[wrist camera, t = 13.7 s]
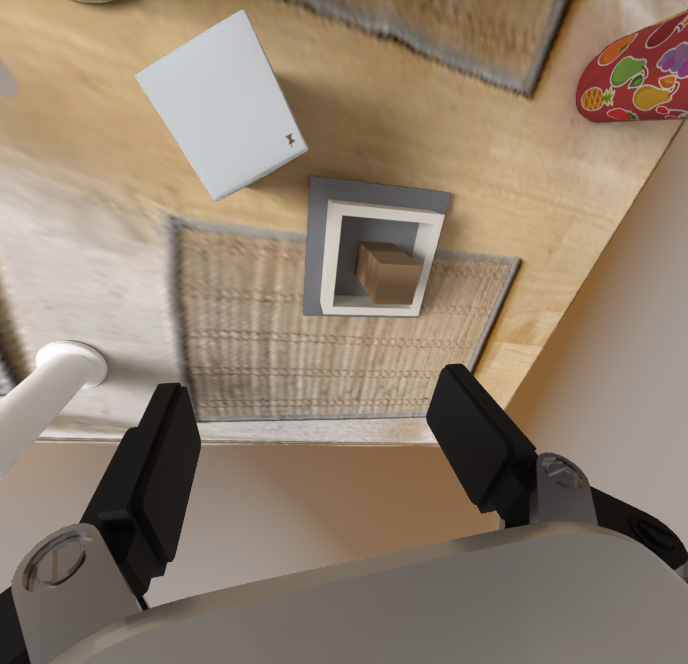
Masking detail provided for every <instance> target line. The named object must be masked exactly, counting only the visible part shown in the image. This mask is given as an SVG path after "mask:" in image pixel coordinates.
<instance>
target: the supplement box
mask: <svg viewBox="0 0 688 664" xmlns="http://www.w3.org/2000/svg"><path fill="white" fill-rule="evenodd" d="M135 78H136V80H137V81H138V82H139V84H140V85H141V87H142V88H143V90H144V91H145V93H146V95H147V96H148V98H149V99H150V101H151V102H152V104H153V105H154V107H155V108H156V110H157V111H158V113H159V115H160V116H161V118H162V119H163V121H164V122H165V124H166V126H167V127H168V129H169V130H170V132H171V134H172V135H173V137H174V138H175V140H176V141H177V143H178V145H179V146H180V148H181V149H182V151H183V153H184V154H185V156H186V157H187V159H188V160H189V162H190V164H191V165H192V167H193V168H194V170H195V172H196V173H197V175H198V176H199V178H200V179H201V181H202V183H203V184H204V186H205V187H206V189H207V191H208V192H209V194H210V195H211V197H212V199H213V200H215V201H218V200H221V199H223V198H225V197H227V196H229V195H231V194H233V193H235V192H237V191H239V190H240V189H242V188H244V187H246V186H248V185H250V184H252V183H254V182H255V181H257V180H259V179H261V178H263V177H265V176H266V175H268V174H270V173H272V172H273V171H275V170H277V169H278V168H280V167H282V166H283V165H285V164H287V163H288V162H290V161H292V160H293V159H295V158H297V157H298V156H300V155H302V154H303V153H305V152H307V151H308V150H309V148H308V145H307V143H306V141H305V139H304V136H303V134H302V132H301V130H300V127H299V125H298V123H297V121H296V119H295V116H294V114H293V112H292V110H291V108H290V106H289V103H288V101H287V99H286V97H285V95H284V92H283V90H282V88H281V86H280V84H279V82H278V80H277V77H276V75H275V73H274V71H273V69H272V67H271V65H270V62H269V60H268V58H267V56H266V54H265V52H264V50H263V48H262V46H261V44H260V41H259V39H258V37H257V35H256V33H255V31H254V29H253V27H252V25H251V22H250V20H249V18H248V16H247V14H246V12H245V10H244V9H242V10H240V11H238V12H236V13H235V14H233V15H231V16H229V17H228V18H226V19H224V20H223V21H221V22H219V23H217V24H216V25H214V26H213V27H211V28H209V29H208V30H206V31H205V32H203V33H201V34H200V35H198V36H196V37H195V38H193V39H191V40H190V41H188V42H187V43H185V44H183V45H182V46H180V47H178V48H177V49H175V50H174V51H172V52H170V53H169V54H167V55H165V56H164V57H162V58H161V59H159V60H157V61H156V62H154V63H153V64H151V65H150V66H148V67H146V68H145V69H143V70H142V71H140V72H139V73H137V74H135Z"/></svg>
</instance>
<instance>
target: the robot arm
mask: <svg viewBox="0 0 688 664" xmlns="http://www.w3.org/2000/svg"><path fill="white" fill-rule="evenodd" d="M76 1H80V2H83V3H104V2H109V1H113V0H76ZM426 419H427V423H428V425H429V427H430V429H431V431H432V432H433V434H434V436H435V438H436V440H437V441H438V443H439V445H440V447H441V448H442V450H443V452H444V454H445V455H446V457H447V459H448V461H449V463H450V465H451V466H452V468H453V470H454V472H455V473H456V475H457V477H458V479H459V481H460V483H461V484H462V486H463V488H464V490H465V492H466V493H467V495H468V497H469V499H470V500H471V502H472V503H473V504H475V505H477V507H478V508H479V510H480V512H481V513H487V512H492V511H495V510H496V511H497V512H498V514H499V516H500V524H499V530H497V531H492V532H487V533H482V534H477V535H473V536H467V537H463V538H458V539H453V540H448V541H443V542H439V543H433V544H429V545H424V546H420V547H415V548H410V549H405V550H400V551H396V552H391V553H386V554H381V555H376V556H372V557H367V558H362V559H358V560H353V561H349V562H343V563H339V564H334V565H329V566H325V567H320V568H316V569H311V570H306V571H302V572H297V573H293V574H288V575H283V576H279V577H274V578H270V579H265V580H260V581H256V582H251V583H247V584H243V585H239V586H234V587H230V588H226V589H222V590H217V591H213V592H209V593H204V594H201V595H196V596H192V597H187V598H184V599H181V600H177V601H174V602H170V603H167V604H163V605H160V606H157V607H153V608H150V606H149V605H148V603H147V601H146V599H145V597H144V594H145V593H146V592H147V591H148V588H149V585H150V581H151V578H154V577H159V576H163V575H164V573H165V569H166V565H167V563H168V562H172V561H173V560H174V557H175V554H176V550H177V546H178V542H179V537H180V533H181V529H182V525H183V521H184V517H185V512H186V508H187V504H188V500H189V496H190V491H191V487H192V483H193V479H194V474H195V470H196V466H197V462H198V457H199V453H200V449H201V439H200V435H199V431H198V427H197V424H196V420H195V416H194V412H193V408H192V405H191V401H190V397H189V393H188V389H187V387H186V386H184V387H181V384H180V383H163V384H159V385H158V386H157V388H156V390H155V392H154V394H153V396H152V398H151V400H150V402H149V404H148V406H147V408H146V411H145V413H144V415H143V417H142V419H141V421H140V423H139V425H138V427H133V428H130V429H128V430H127V432H126V433H125V435H124V436H123V438H122V440H121V442H120V444H119V446H118V448H117V450H116V452H115V454H114V456H113V458H112V460H111V462H110V464H109V466H108V468H107V470H106V472H105V474H104V476H103V477H102V480H101V481H100V484H99V485H98V487H97V489H96V491H95V493H94V495H93V497H92V499H91V501H90V503H89V505H88V507H87V509H86V511H85V512H84V514H83V516H82V518H81V520H80V522H79V524H73V525H70V526H67V527H64V528H61V529H60V530H58V531H56V532H54V533H52V534H50V535H49V536H47V537H46V538H45V539H43V540H42V541H41V542H39V543H38V544H37V545H36V546H35V547H34V548H33V549H32V550H31V551H30V552H29V553H28V554H27V555H26V556H25V557H24V559H23V560H22V562H21V563H20V564H19V566H18V567H17V569H16V571H15V574H14V576H13V579H12V586H10V587H9V588H8V589H6V590H5V591H4V592H2V593H1V594H0V664H688V552H687V551H686V549H685V547H684V545H683V543H682V542H681V541H680V539H679V538H678V537H677V535H676V534H675V533H673V531H672V530H670V529H669V528H668V527H667V526H666V525H665V524H663V523H662V522H661V521H659V520H658V519H656V518H654V517H653V516H651V515H649V514H647V513H645V512H643V511H641V510H639V509H637V508H635V507H633V506H631V505H629V504H627V503H625V502H623V501H620V500H618V499H616V498H614V497H612V496H610V495H608V494H606V493H603V492H602V491H600V490H597V489H595V488H593V487H591V486H590V484H589V481H588V479H587V477H586V476H585V474H584V473H583V472H582V470H581V469H580V468H579V467H578V466H576V465H575V464H574V463H573V462H571V461H570V460H568V459H567V458H564V457H563V456H561V455H558V454H554V453H547V452H546V453H542V454H540V455H539V456H538V455H537V454H536V452H535V450H536V448H535V446H534V445H533V444H532V443H531V442H530V441H529V439H528V438H527V437H526V436H525V435H524V434H523V432H521V430H520V429H519V428H518V427H517V426H516V425H515V423H514V422H513V421H512V420H511V419H510V418H509V416H508V415H507V414H506V413H505V412H504V411H503V410H502V408H501V407H500V406H499V405H498V404H497V403H496V401H495V400H494V399H493V398H492V397H491V396H490V395H489V393H488V392H487V391H486V390H485V389H484V388H483V387H482V385H481V384H480V383H479V382H478V381H477V380H476V379H475V377H474V376H473V375H472V374H471V373H470V372H469V370H468V369H467V368H466V367H465V366H464V365H463V364H448V365H446V366H445V368H443V369H442V370H441V373H440V376H439V379H438V382H437V385H436V388H435V391H434V394H433V397H432V400H431V403H430V406H429V409H428V412H427V415H426Z"/></svg>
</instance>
